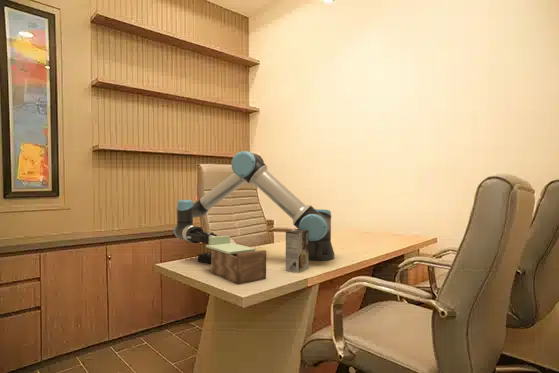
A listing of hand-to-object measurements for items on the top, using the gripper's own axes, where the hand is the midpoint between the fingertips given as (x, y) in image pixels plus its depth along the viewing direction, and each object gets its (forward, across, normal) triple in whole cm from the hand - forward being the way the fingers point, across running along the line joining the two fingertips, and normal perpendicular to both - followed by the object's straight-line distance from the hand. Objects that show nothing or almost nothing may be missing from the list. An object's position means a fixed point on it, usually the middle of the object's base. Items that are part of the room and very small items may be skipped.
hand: (217, 240), depth 144 cm
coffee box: (+21, -25, -12) cm, 35 cm away
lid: (+9, 0, -2) cm, 10 cm away
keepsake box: (+15, 0, -11) cm, 19 cm away
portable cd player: (-9, -9, -12) cm, 18 cm away
